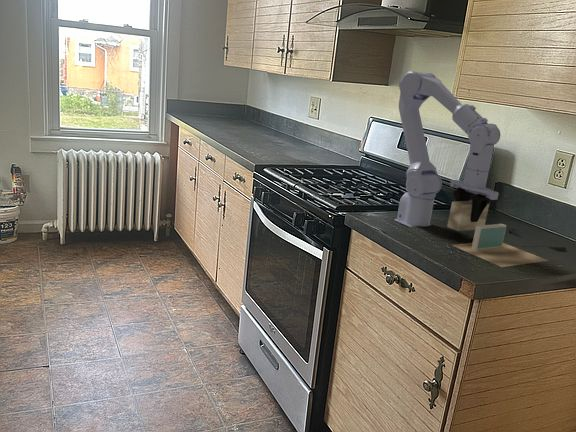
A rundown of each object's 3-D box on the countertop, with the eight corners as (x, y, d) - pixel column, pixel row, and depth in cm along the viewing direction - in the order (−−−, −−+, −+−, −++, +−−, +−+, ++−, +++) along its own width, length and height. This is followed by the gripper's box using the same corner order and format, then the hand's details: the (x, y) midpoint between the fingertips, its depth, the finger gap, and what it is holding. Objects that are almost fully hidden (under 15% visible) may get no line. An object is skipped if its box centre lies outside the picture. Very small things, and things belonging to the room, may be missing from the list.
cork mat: (450, 248, 142) (451, 244, 142) (496, 243, 151) (497, 240, 151) (501, 271, 129) (502, 267, 129) (547, 264, 138) (548, 260, 138)
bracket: (528, 236, 166) (530, 227, 165) (565, 253, 152) (567, 243, 152) (488, 236, 161) (490, 227, 161) (523, 253, 148) (525, 243, 147)
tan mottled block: (447, 226, 148) (452, 201, 146) (472, 224, 153) (477, 200, 151) (458, 231, 145) (463, 205, 143) (483, 229, 150) (489, 204, 148)
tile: (471, 247, 141) (476, 225, 140) (497, 245, 146) (501, 223, 145) (476, 250, 140) (481, 227, 138) (502, 247, 145) (507, 225, 143)
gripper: (446, 164, 148) (437, 212, 152) (489, 175, 137) (478, 227, 140) (464, 164, 152) (455, 211, 156) (507, 175, 140) (496, 226, 144)
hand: (467, 219), depth 148 cm, fingers closed on tan mottled block, 4 cm apart
